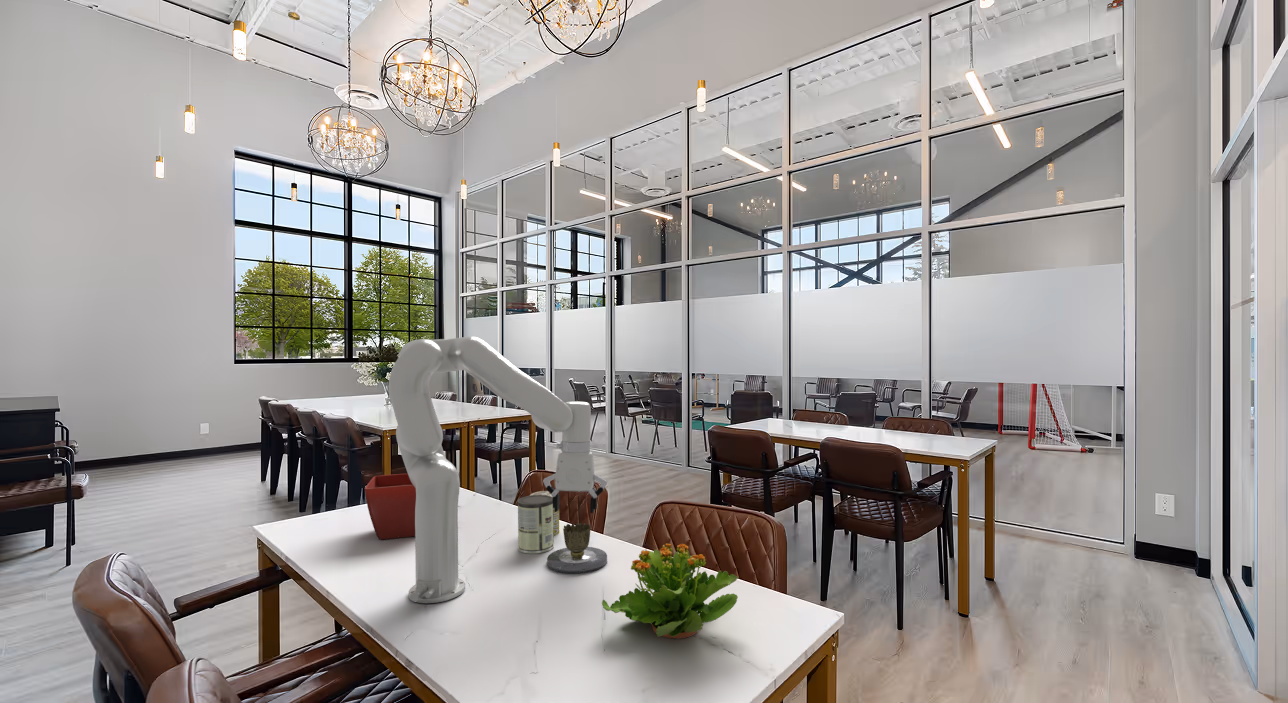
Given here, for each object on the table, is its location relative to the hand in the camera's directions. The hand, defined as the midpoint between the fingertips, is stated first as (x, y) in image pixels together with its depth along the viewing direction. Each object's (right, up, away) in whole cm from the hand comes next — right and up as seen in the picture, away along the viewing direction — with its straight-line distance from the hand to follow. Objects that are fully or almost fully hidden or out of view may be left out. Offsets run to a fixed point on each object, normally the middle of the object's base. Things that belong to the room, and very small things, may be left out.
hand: (574, 511), depth 151 cm
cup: (+1, -12, 0) cm, 12 cm away
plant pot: (-58, -15, +27) cm, 66 cm away
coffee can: (-13, -14, +12) cm, 22 cm away
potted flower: (+26, -14, -36) cm, 47 cm away
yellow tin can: (-12, -14, +26) cm, 32 cm away
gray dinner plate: (+1, -14, 0) cm, 14 cm away
